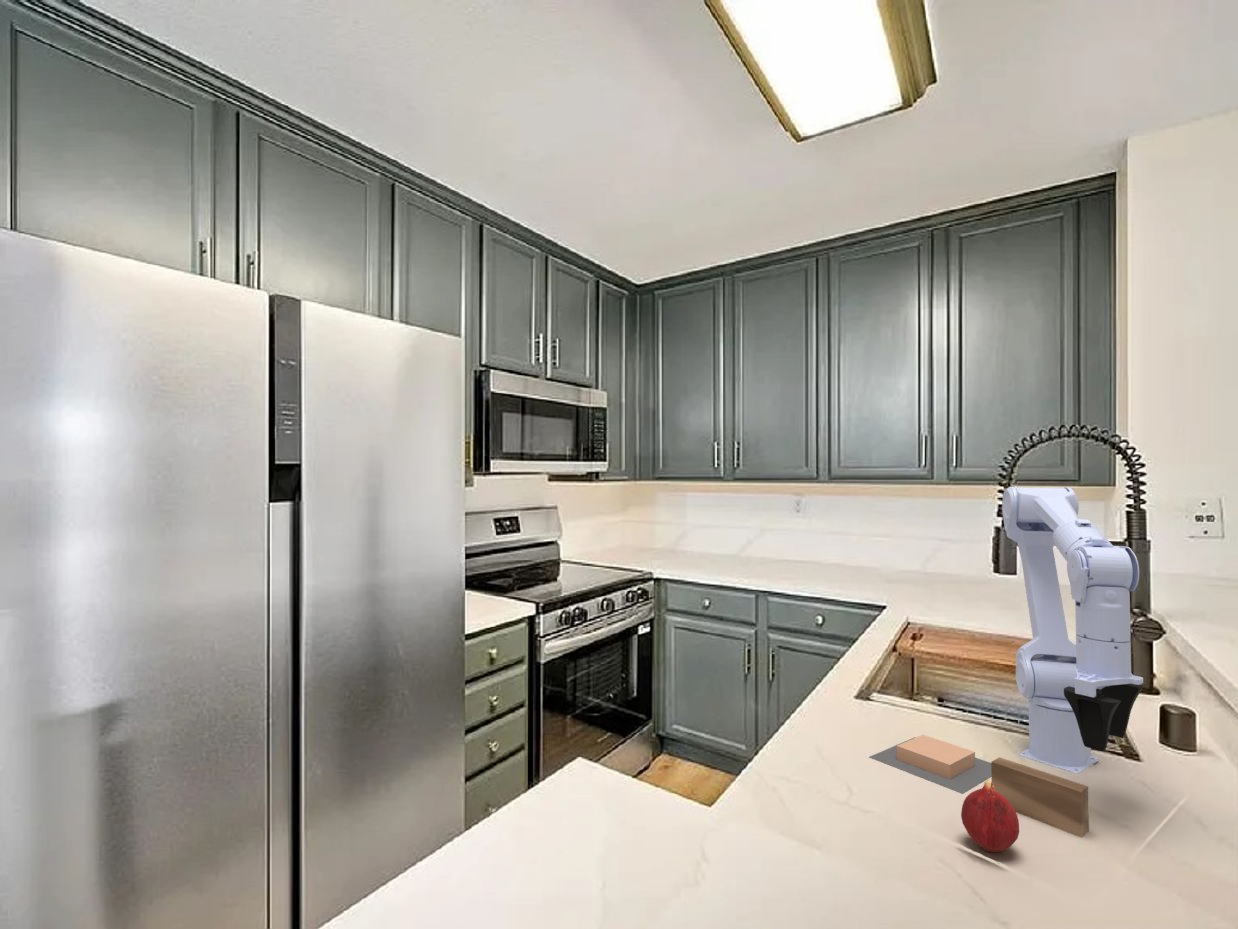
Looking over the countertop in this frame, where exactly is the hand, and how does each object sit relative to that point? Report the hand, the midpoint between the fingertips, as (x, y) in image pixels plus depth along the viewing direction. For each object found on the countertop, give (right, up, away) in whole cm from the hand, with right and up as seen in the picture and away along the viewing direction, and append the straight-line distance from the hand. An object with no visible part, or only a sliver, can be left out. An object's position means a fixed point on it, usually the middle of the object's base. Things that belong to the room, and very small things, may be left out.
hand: (1104, 741), depth 80 cm
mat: (-15, -10, +13) cm, 22 cm away
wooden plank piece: (-10, -9, -2) cm, 14 cm away
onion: (-21, -9, -9) cm, 25 cm away
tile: (-13, -8, +10) cm, 18 cm away
